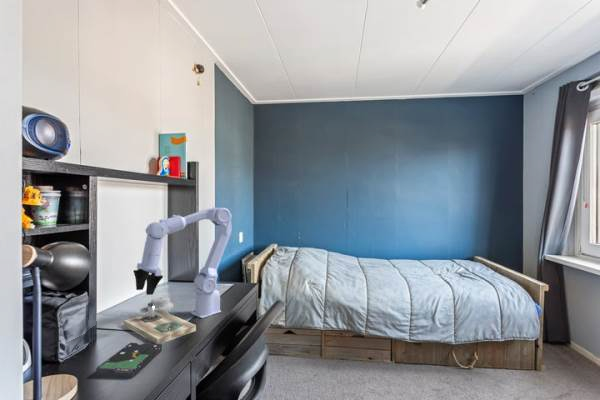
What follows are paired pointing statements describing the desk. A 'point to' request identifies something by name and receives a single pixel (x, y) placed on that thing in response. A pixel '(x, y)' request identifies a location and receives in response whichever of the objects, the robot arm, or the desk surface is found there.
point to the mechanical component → (162, 303)
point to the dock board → (160, 327)
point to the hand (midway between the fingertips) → (144, 292)
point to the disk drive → (129, 360)
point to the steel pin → (151, 310)
